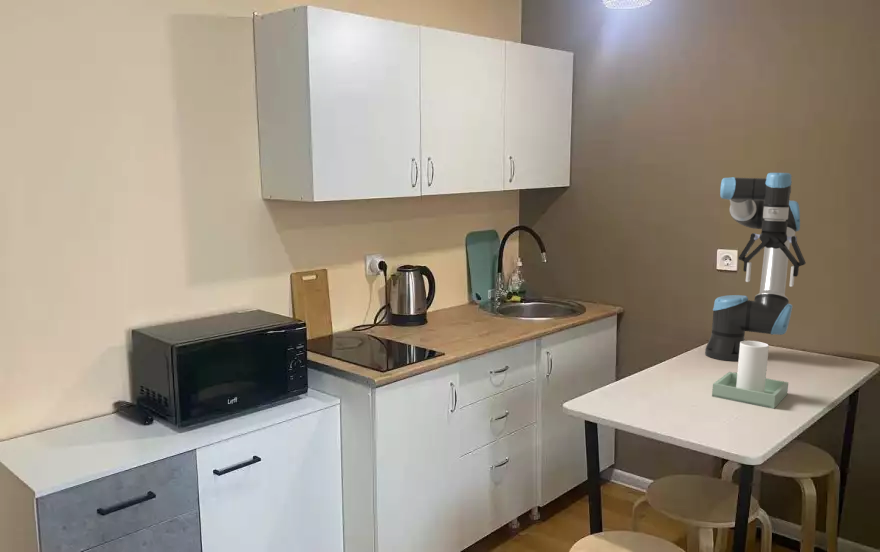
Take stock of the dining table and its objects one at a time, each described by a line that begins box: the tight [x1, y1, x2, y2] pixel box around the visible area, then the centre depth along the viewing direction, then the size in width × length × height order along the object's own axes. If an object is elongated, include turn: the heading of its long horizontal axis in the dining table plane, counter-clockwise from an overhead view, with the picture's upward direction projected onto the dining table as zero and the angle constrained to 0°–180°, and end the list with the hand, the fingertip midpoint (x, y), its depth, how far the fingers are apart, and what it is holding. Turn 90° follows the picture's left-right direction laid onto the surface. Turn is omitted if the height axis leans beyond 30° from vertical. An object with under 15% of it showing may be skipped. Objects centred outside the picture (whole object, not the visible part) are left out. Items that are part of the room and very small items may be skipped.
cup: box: [736, 340, 770, 393], centre depth 225 cm, size 8×8×16 cm
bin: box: [711, 371, 789, 410], centre depth 226 cm, size 18×18×4 cm
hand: (769, 283), depth 240 cm, fingers open, 13 cm apart
